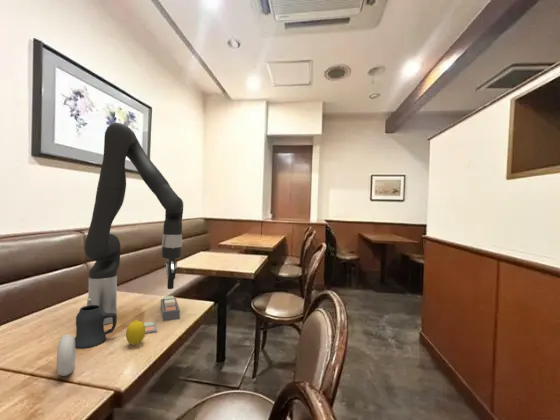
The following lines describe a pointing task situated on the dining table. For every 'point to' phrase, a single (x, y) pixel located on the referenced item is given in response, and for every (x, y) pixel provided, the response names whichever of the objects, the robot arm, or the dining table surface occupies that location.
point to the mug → (92, 326)
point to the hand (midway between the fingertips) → (170, 288)
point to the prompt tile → (150, 327)
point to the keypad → (170, 312)
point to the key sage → (168, 298)
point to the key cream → (169, 303)
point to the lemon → (135, 332)
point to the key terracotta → (170, 308)
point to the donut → (66, 355)
